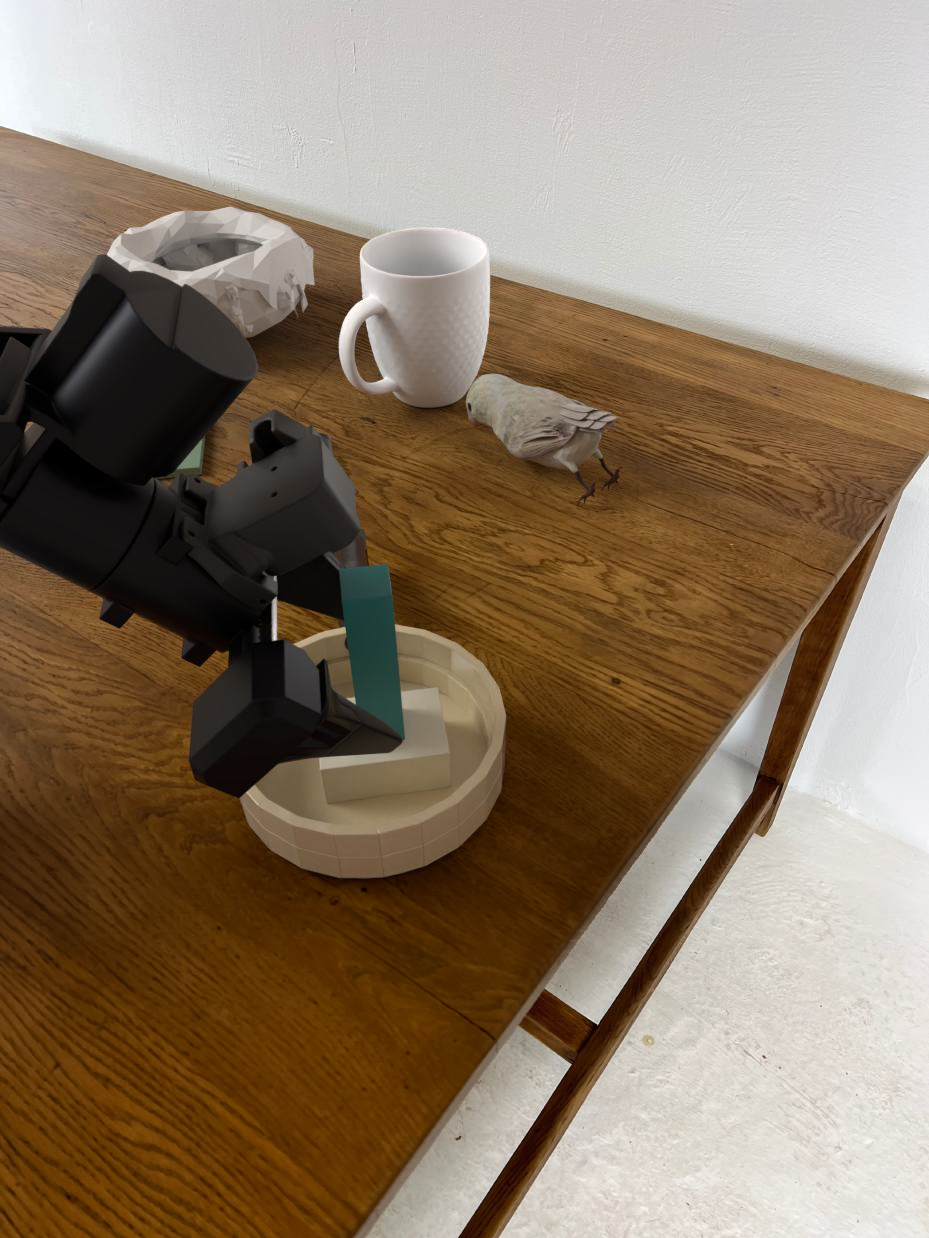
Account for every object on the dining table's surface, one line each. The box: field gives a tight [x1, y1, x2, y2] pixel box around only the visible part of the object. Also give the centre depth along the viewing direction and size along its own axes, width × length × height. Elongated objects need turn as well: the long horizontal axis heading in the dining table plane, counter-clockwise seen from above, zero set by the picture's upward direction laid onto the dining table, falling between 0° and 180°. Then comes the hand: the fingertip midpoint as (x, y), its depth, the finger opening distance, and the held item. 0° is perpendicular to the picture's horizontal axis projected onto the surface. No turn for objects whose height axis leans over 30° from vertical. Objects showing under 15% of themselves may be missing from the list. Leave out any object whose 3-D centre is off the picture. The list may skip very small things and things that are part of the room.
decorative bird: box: [465, 373, 624, 507], centre depth 75 cm, size 5×16×8 cm, turn 41°
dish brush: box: [319, 563, 451, 804], centre depth 49 cm, size 7×5×14 cm
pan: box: [238, 623, 507, 879], centre depth 53 cm, size 15×15×4 cm
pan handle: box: [334, 528, 370, 650], centre depth 62 cm, size 2×12×5 cm, turn 9°
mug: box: [338, 226, 491, 409], centre depth 82 cm, size 15×11×13 cm
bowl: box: [106, 206, 316, 339], centre depth 94 cm, size 21×20×10 cm
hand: (388, 678), depth 50 cm, fingers open, 9 cm apart
